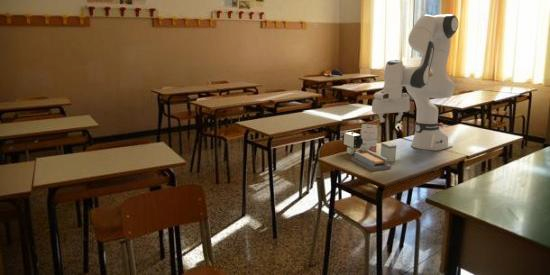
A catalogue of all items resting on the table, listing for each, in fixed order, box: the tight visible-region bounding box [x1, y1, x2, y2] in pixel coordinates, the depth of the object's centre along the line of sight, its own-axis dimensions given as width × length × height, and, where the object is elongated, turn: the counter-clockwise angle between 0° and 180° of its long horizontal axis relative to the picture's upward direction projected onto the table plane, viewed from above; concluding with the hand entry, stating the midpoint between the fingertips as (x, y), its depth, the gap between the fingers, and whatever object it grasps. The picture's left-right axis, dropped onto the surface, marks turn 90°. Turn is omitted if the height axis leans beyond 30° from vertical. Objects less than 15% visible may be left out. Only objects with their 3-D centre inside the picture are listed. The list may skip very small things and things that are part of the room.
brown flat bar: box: [361, 152, 384, 164], centre depth 203 cm, size 5×14×1 cm, turn 20°
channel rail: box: [350, 150, 392, 172], centre depth 203 cm, size 11×18×4 cm, turn 20°
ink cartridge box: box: [360, 123, 378, 152], centre depth 226 cm, size 9×5×15 cm, turn 74°
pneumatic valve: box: [341, 131, 363, 155], centre depth 220 cm, size 6×12×12 cm, turn 32°
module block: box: [380, 141, 397, 162], centre depth 211 cm, size 4×7×8 cm, turn 20°
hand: (390, 121), depth 207 cm, fingers open, 8 cm apart
